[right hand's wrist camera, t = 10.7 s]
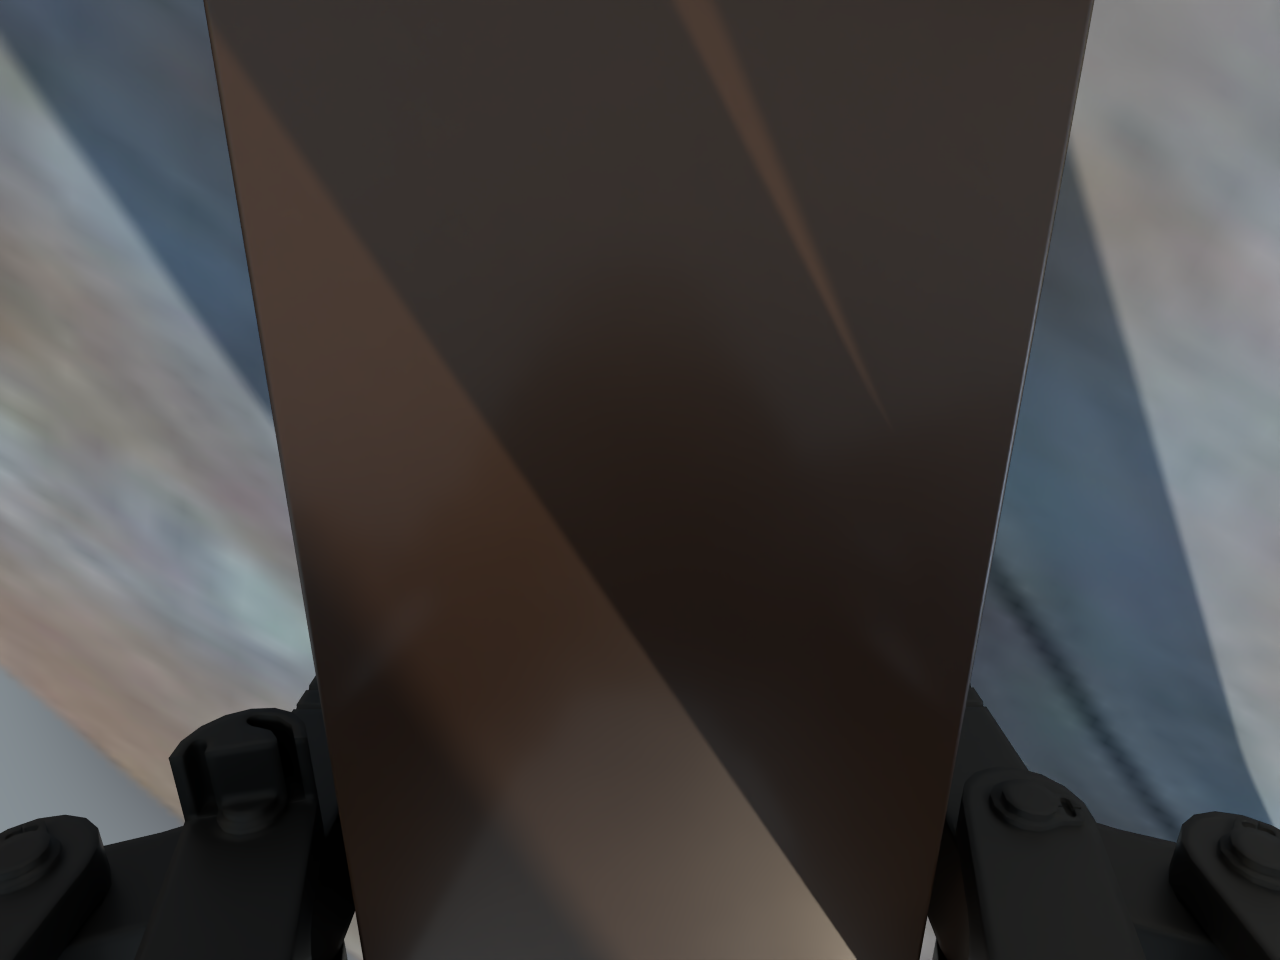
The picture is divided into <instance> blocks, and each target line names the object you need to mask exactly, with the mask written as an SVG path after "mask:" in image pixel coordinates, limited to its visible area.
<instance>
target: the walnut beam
mask: <svg viewBox="0 0 1280 960" xmlns="http://www.w3.org/2000/svg"><path fill="white" fill-rule="evenodd" d="M203 1H204V7H205V13H206V19H207V25H208V31H209V37H210V43H211V49H212V55H213V61H214V67H215V73H216V79H217V85H218V91H219V97H220V103H221V109H222V115H223V121H224V127H225V133H226V139H227V145H228V151H229V157H230V163H231V169H232V175H233V181H234V187H235V193H236V199H237V205H238V211H239V217H240V223H241V229H242V235H243V241H244V247H245V253H246V259H247V265H248V271H249V277H250V283H251V289H252V295H253V301H254V307H255V313H256V319H257V325H258V331H259V337H260V343H261V349H262V355H263V360H264V366H265V372H266V378H267V384H268V390H269V396H270V402H271V408H272V414H273V420H274V426H275V432H276V438H277V444H278V450H279V456H280V462H281V468H282V474H283V480H284V486H285V492H286V498H287V504H288V510H289V516H290V522H291V528H292V534H293V540H294V546H295V552H296V558H297V564H298V570H299V576H300V582H301V588H302V594H303V600H304V606H305V612H306V618H307V624H308V630H309V636H310V642H311V648H312V654H313V660H314V666H315V672H316V678H317V684H318V690H319V696H320V702H321V708H322V714H323V720H324V726H325V732H326V738H327V744H328V750H329V756H330V762H331V768H332V774H333V780H334V786H335V792H336V798H337V804H338V810H339V816H340V822H341V828H342V834H343V840H344V846H345V852H346V858H347V864H348V870H349V876H350V882H351V888H352V894H353V900H354V906H355V912H356V918H357V924H358V930H359V936H360V942H361V948H362V954H363V960H919V959H920V954H921V948H922V943H923V937H924V932H925V926H926V921H927V915H928V910H929V904H930V899H931V893H932V888H933V882H934V877H935V871H936V866H937V861H938V855H939V850H940V844H941V839H942V833H943V828H944V822H945V817H946V811H947V806H948V800H949V795H950V789H951V784H952V778H953V773H954V767H955V762H956V756H957V751H958V745H959V740H960V734H961V729H962V723H963V718H964V712H965V707H966V701H967V696H968V690H969V685H970V680H971V674H972V669H973V663H974V658H975V652H976V647H977V641H978V636H979V630H980V625H981V619H982V614H983V608H984V603H985V597H986V592H987V586H988V581H989V575H990V570H991V564H992V559H993V553H994V548H995V542H996V537H997V531H998V526H999V520H1000V515H1001V509H1002V504H1003V499H1004V493H1005V488H1006V482H1007V477H1008V471H1009V466H1010V460H1011V455H1012V449H1013V444H1014V438H1015V433H1016V427H1017V422H1018V416H1019V411H1020V405H1021V400H1022V394H1023V389H1024V383H1025V378H1026V372H1027V367H1028V361H1029V356H1030V350H1031V345H1032V339H1033V334H1034V328H1035V323H1036V318H1037V312H1038V307H1039V301H1040V296H1041V290H1042V285H1043V279H1044V274H1045V268H1046V263H1047V257H1048V252H1049V246H1050V241H1051V235H1052V230H1053V224H1054V219H1055V213H1056V208H1057V202H1058V197H1059V191H1060V186H1061V180H1062V175H1063V169H1064V164H1065V158H1066V153H1067V147H1068V142H1069V137H1070V131H1071V126H1072V120H1073V115H1074V109H1075V104H1076V98H1077V93H1078V87H1079V82H1080V76H1081V71H1082V65H1083V60H1084V54H1085V49H1086V43H1087V38H1088V32H1089V27H1090V21H1091V16H1092V10H1093V5H1094V0H203Z"/></svg>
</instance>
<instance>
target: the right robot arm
mask: <svg viewBox="0 0 1280 960" xmlns="http://www.w3.org/2000/svg"><path fill="white" fill-rule="evenodd" d="M169 761H170V765H171V768H172V772H173V776H174V780H175V784H176V788H177V792H178V795H179V799H180V803H181V807H182V811H183V815H184V819H185V823H184V826H181V827H178V828H175V829H171V830H168V831H165V832H162V833H157V834H153V835H149V836H144V837H140V838H136V839H132V840H127V841H123V842H119V843H115V844H110V845H106V846H103V843H102V840H101V837H100V833H99V830H98V828H97V827H96V826H95V825H94V824H93V823H91V822H90V821H89V820H88V819H87V818H83V817H76V816H70V815H60V816H53V817H46V818H39V819H36V820H33V821H30V822H27V823H24V824H21V825H18V826H16V827H13V828H10V829H7V830H6V831H4V832H2V833H0V960H347V954H346V948H345V942H344V938H345V936H346V933H347V930H348V928H349V925H350V923H351V920H352V918H353V915H354V912H355V906H354V900H353V894H352V888H351V882H350V876H349V870H348V864H347V858H346V852H345V846H344V840H343V834H342V828H341V822H340V816H339V810H338V804H337V798H336V792H335V786H334V780H333V774H332V768H331V762H330V756H329V750H328V744H327V738H326V732H325V726H324V720H323V714H322V708H321V702H320V696H319V690H318V684H317V678H316V676H315V678H314V679H313V681H312V682H311V684H310V685H309V690H306V691H305V693H304V694H303V696H302V697H301V699H300V700H299V702H298V703H297V708H296V709H293V711H292V712H289V711H285V710H281V709H277V708H260V709H249V710H245V711H241V712H236V713H232V714H228V715H225V716H223V717H221V718H218V719H216V720H214V721H212V722H210V723H207V724H205V725H203V726H201V727H200V728H198V729H197V730H196V731H194V732H193V733H192V734H190V735H189V736H187V737H186V738H185V739H183V740H182V741H181V742H180V743H179V745H178V746H177V747H176V749H175V750H174V752H173V753H172V754H171V756H170V757H169ZM928 918H929V921H930V923H931V926H932V928H933V931H934V933H935V936H936V942H935V948H934V953H933V959H932V960H1280V830H1279V829H1277V828H1276V827H1274V826H1272V825H1269V824H1266V823H1263V822H1261V821H1257V820H1255V819H1252V818H1249V817H1246V816H1243V815H1237V814H1230V813H1223V812H1216V811H1214V812H1208V813H1202V814H1195V815H1193V816H1192V817H1191V818H1190V819H1188V820H1187V821H1186V822H1185V823H1184V824H1182V827H1181V831H1180V834H1179V837H1178V840H1177V843H1175V842H1171V841H1167V840H1162V839H1158V838H1154V837H1149V836H1145V835H1141V834H1136V833H1132V832H1128V831H1123V830H1119V829H1116V828H1112V827H1109V826H1106V825H1102V824H1099V823H1096V822H1095V820H1094V818H1093V816H1092V815H1091V813H1090V812H1089V810H1088V809H1087V807H1086V805H1085V804H1084V802H1082V801H1081V800H1080V799H1079V798H1078V797H1076V796H1075V795H1074V794H1073V793H1072V792H1071V791H1069V790H1068V789H1067V788H1066V787H1065V786H1063V785H1061V784H1059V783H1057V782H1055V781H1053V780H1051V779H1049V778H1047V777H1045V776H1043V775H1041V774H1038V773H1034V772H1030V771H1028V769H1027V768H1026V766H1025V765H1024V763H1023V762H1022V760H1021V759H1020V757H1019V756H1018V754H1017V753H1016V751H1015V750H1014V748H1013V747H1012V745H1011V743H1010V742H1009V740H1008V739H1007V737H1006V736H1005V734H1004V733H1003V731H1002V730H1001V728H1000V727H999V725H998V724H997V722H996V721H995V719H994V718H993V716H992V715H991V713H990V712H989V710H988V709H987V707H983V701H982V700H981V698H980V697H979V695H978V694H977V692H976V691H975V689H974V688H971V685H969V690H968V696H967V701H966V707H965V712H964V718H963V723H962V729H961V734H960V740H959V745H958V751H957V756H956V762H955V767H954V773H953V778H952V784H951V789H950V795H949V800H948V806H947V811H946V817H945V822H944V828H943V833H942V839H941V844H940V850H939V855H938V861H937V866H936V871H935V877H934V882H933V888H932V893H931V899H930V904H929V910H928Z"/></svg>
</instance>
